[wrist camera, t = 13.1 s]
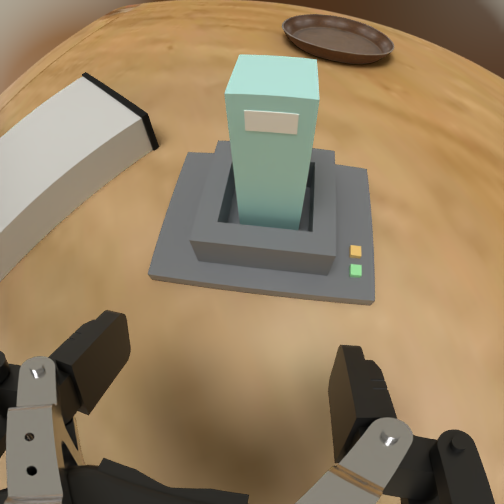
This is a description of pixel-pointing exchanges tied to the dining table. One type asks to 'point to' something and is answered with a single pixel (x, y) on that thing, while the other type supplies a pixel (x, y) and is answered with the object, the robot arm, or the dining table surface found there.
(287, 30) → the plant saucer
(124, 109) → the disc drive
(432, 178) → the dining table surface
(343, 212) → the port block
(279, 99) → the plug
